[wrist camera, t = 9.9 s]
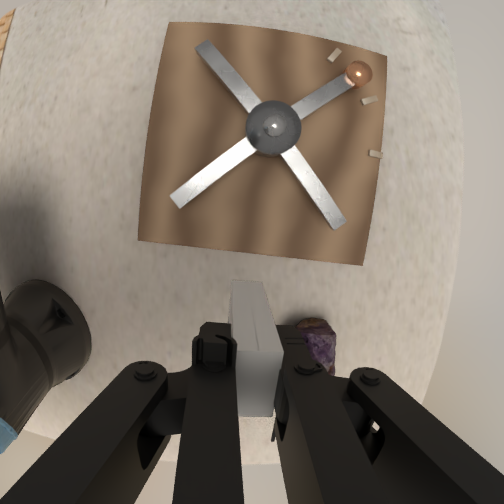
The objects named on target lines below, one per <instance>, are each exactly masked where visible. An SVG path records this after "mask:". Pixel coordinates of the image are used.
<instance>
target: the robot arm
mask: <svg viewBox="0 0 504 504" xmlns="http://www.w3.org/2000/svg"><path fill="white" fill-rule="evenodd" d="M90 352H91V338H90V333H89V329H88V326H87V323H86V321H85V319H84V317H83V315H82V313H81V312H80V310H79V308H78V307H77V306H76V304H75V303H74V302H73V301H72V300H71V298H70V297H69V296H68V295H67V294H65V293H64V292H63V291H62V290H61V289H59V288H58V287H56V286H54V285H52V284H50V283H48V282H45V281H41V280H31V281H27V282H25V283H23V284H21V285H19V286H18V287H16V288H15V289H14V290H12V291H11V292H10V294H9V295H8V297H7V298H6V300H5V303H4V304H3V300H2V296H1V292H0V454H1V453H3V452H4V451H5V450H6V449H7V447H8V446H9V445H10V444H11V443H12V441H13V440H15V439H16V438H17V437H18V435H19V433H20V432H21V430H22V429H23V427H24V426H25V424H26V423H27V421H28V420H29V418H30V417H31V416H32V414H33V413H34V411H35V410H36V408H37V407H38V405H39V404H40V403H41V401H42V400H43V398H44V397H45V396H46V394H47V393H48V392H49V390H50V389H51V388H52V387H54V386H56V385H58V384H60V383H62V382H63V381H64V380H68V379H70V378H72V377H74V376H75V375H77V374H78V373H79V372H80V370H81V369H82V368H83V366H84V365H85V364H86V362H87V361H88V359H89V356H90ZM274 407H275V412H276V418H275V423H274V428H273V433H272V438H271V442H274V440H275V437H276V440H277V446H278V451H279V456H280V462H281V467H282V472H283V478H284V483H285V488H286V493H287V499H288V503H289V504H504V475H503V474H502V473H500V472H499V471H498V470H497V469H496V468H494V467H493V466H492V465H491V464H490V463H489V462H487V461H486V460H485V459H484V458H483V457H481V456H480V455H479V454H478V453H477V452H476V451H474V450H473V449H472V448H471V447H469V445H467V444H466V443H465V442H464V441H463V440H462V439H460V438H459V437H458V436H457V435H456V434H455V433H453V432H452V431H451V430H450V429H449V428H448V427H446V426H445V425H444V424H443V423H442V422H441V421H439V420H438V419H437V418H436V417H435V416H434V415H432V414H431V413H430V412H428V410H427V409H425V408H424V407H423V406H422V405H421V404H419V403H418V402H417V401H416V400H415V399H414V398H413V397H411V396H410V395H409V394H408V393H407V392H406V391H404V390H403V389H402V388H401V387H400V386H399V385H397V384H396V383H395V382H394V381H393V380H392V379H390V378H389V377H388V376H387V375H386V374H384V373H383V372H381V371H379V370H377V369H374V368H369V367H363V368H357V369H355V370H353V371H352V372H351V374H350V378H343V377H336V376H332V375H329V374H328V372H327V370H326V368H325V367H324V366H323V364H321V363H319V362H318V361H316V360H313V359H312V357H311V355H310V353H309V350H308V348H307V346H306V345H305V341H304V339H303V337H302V335H301V332H300V331H299V330H297V329H296V328H295V327H294V326H287V325H275V322H274V319H273V316H272V312H271V309H270V306H269V303H268V300H267V296H266V293H265V290H264V287H263V283H262V282H254V281H239V280H231V292H230V304H229V317H228V323H215V322H206V323H205V324H203V325H202V326H201V327H200V332H199V335H198V336H196V337H194V339H193V341H192V366H191V367H190V368H188V369H186V370H184V371H180V372H175V373H167V371H166V369H165V368H164V367H163V366H162V365H160V364H158V363H155V362H151V361H138V362H134V363H131V364H129V365H128V366H127V367H125V368H124V369H123V370H122V371H121V372H120V373H119V374H118V376H117V377H116V378H115V379H114V380H113V381H112V382H111V383H110V384H109V385H108V386H107V387H106V388H105V389H104V390H103V391H102V392H101V393H100V394H99V395H98V396H97V397H96V398H95V399H94V401H93V402H92V403H91V404H90V405H89V406H88V407H87V408H86V409H85V410H84V411H83V412H82V413H81V414H80V415H79V416H78V417H77V418H76V419H75V420H74V421H73V423H72V424H71V425H70V426H69V427H68V428H67V429H66V430H65V431H64V432H63V433H62V434H61V435H60V436H59V437H58V438H57V439H56V440H55V441H54V443H53V444H52V445H51V446H50V447H49V448H48V449H47V450H46V451H45V452H44V453H43V454H42V455H41V456H40V457H39V458H38V460H37V461H36V462H35V463H34V464H33V465H32V466H31V467H30V468H29V469H28V470H27V471H26V472H25V473H24V475H23V476H22V477H21V478H20V479H19V480H18V481H17V482H16V483H15V484H14V485H13V486H12V487H11V489H10V490H9V491H8V492H7V493H6V494H5V495H4V496H3V497H2V498H1V499H0V504H134V503H135V501H136V499H137V498H138V496H139V494H140V492H141V491H142V489H143V487H144V485H145V483H146V482H147V480H148V478H149V476H150V475H151V473H152V471H153V469H154V468H155V466H156V464H157V462H158V460H159V459H160V457H161V455H162V453H163V452H164V450H165V448H166V446H167V444H168V443H169V441H170V438H171V435H174V434H181V438H180V446H179V453H178V460H177V468H176V476H175V484H174V493H173V501H172V504H244V494H243V481H242V466H241V452H240V437H239V421H238V416H243V417H272V416H273V410H274ZM374 421H375V422H376V423H377V424H378V425H379V427H380V428H379V430H378V431H376V430H375V429H374V428H373V427H372V425H373V423H374Z"/></svg>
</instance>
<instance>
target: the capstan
mask: <svg viewBox="0 0 504 504" xmlns="http://www.w3.org/2000/svg"><path fill="white" fill-rule="evenodd" d="M195 51H196V54H197V55H198V56H199V57H200V58H201V59H202V60H203V62H204V63H205V64H206V65H207V66H208V67H209V69H210V70H211V71H212V72H213V73H214V74H215V76H216V77H217V78H218V79H219V80H220V82H221V83H222V84H223V85H224V86H225V88H226V89H227V90H228V91H229V92H230V94H231V95H232V96H233V97H234V99H235V100H236V101H237V102H238V103H239V105H240V106H241V107H242V108H243V110H244V111H245V112H246V113H247V115H248V117H247V120H246V126H245V138H244V139H243V140H241V141H240V142H239V143H237V144H236V145H234V146H233V147H232V148H230V149H229V150H228V151H226V152H225V153H224V154H222V155H221V156H220V157H218V158H217V159H216V160H214V161H213V162H212V163H210V164H209V165H208V166H206V167H205V168H204V169H202V170H201V171H200V172H199V173H197V174H196V175H195V176H193V177H192V178H191V179H190V180H188V181H187V182H186V183H185V184H183V185H182V186H181V187H180V188H178V189H177V190H176V191H175V192H173V193H172V194H171V195H170V197H171V198H172V200H173V201H174V202H175V204H176V205H177V206H178V208H179V209H180V208H182V207H183V206H185V205H186V204H187V203H188V202H190V201H191V200H192V199H194V198H195V197H196V196H197V195H199V194H200V193H201V192H202V191H204V190H205V189H206V188H208V187H209V186H210V185H212V184H213V183H214V182H215V181H217V180H218V179H219V178H221V177H222V176H223V175H225V174H226V173H227V172H229V171H230V170H231V169H233V168H234V167H235V166H237V165H238V164H239V163H241V162H242V161H244V160H245V159H246V158H248V157H249V156H250V155H252V154H253V153H255V154H257V155H259V156H262V157H275V156H278V155H279V156H280V158H281V159H282V161H283V162H284V163H285V165H286V166H287V167H288V169H289V170H290V171H291V173H292V174H293V176H294V177H295V178H296V180H297V181H298V183H299V184H300V185H301V187H302V188H303V190H304V191H305V192H306V194H307V195H308V197H309V198H310V200H311V201H312V203H313V204H314V205H315V207H316V208H317V210H318V211H319V213H320V214H321V216H322V217H323V219H324V220H325V222H326V223H327V225H328V226H329V228H331V229H332V230H334V231H335V230H336V229H337V228H339V227H340V226H341V225H343V224H344V223H345V222H347V221H346V219H345V218H344V216H343V214H342V213H341V211H340V210H339V208H338V207H337V205H336V204H335V202H334V201H333V199H332V198H331V196H330V195H329V193H328V192H327V190H326V189H325V187H324V186H323V184H322V183H321V182H320V180H319V179H318V177H317V176H316V174H315V173H314V171H313V170H312V169H311V167H310V166H309V164H308V163H307V162H306V160H305V159H304V157H303V156H302V155H301V153H300V152H299V151H298V149H297V148H296V146H295V144H296V143H297V142H298V140H299V138H300V135H301V129H302V127H301V120H302V119H304V118H305V117H307V116H308V115H310V114H311V113H313V112H314V111H316V110H317V109H319V108H320V107H322V106H323V105H325V104H327V103H328V102H330V101H331V100H333V99H334V98H336V97H338V96H339V95H341V94H342V93H344V92H346V91H347V90H349V89H350V88H351V89H359V88H361V87H362V86H364V85H365V84H367V83H368V82H370V81H371V79H372V77H373V72H372V69H371V68H370V66H369V65H368V64H367V63H365V62H363V61H359V60H357V61H353V62H352V63H351V64H350V65H349V66H348V67H347V68H345V69H344V70H343V72H342V75H340V76H339V77H337V78H335V79H334V80H332V81H330V82H329V83H327V84H325V85H324V86H322V87H321V88H319V89H317V90H316V91H314V92H313V93H311V94H309V95H308V96H306V97H305V98H303V99H302V100H300V101H298V102H297V103H295V104H294V105H292V106H289V105H288V104H286V103H284V102H281V101H275V100H270V101H265V102H261V101H260V100H259V98H258V97H257V96H256V95H255V93H254V92H253V91H252V90H251V88H250V87H249V86H248V85H247V84H246V82H245V81H244V80H243V79H242V78H241V76H240V75H239V74H238V73H237V72H236V71H235V69H234V68H233V67H232V66H231V65H230V64H229V62H228V61H227V60H226V59H225V58H224V57H223V56H222V54H221V53H220V52H219V51H218V50H217V49H216V48H215V47H214V45H213V44H212V43H211V42H210V41H209V40H208V39H207V40H205V41H204V42H202V43H201V44H199V45H198V46H196V47H195Z"/></svg>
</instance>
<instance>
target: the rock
mask: <svg viewBox="0 0 504 504" xmlns="http://www.w3.org/2000/svg"><path fill="white" fill-rule="evenodd" d="M295 328H296V329H297V330H299V331H300V332H301V335H302V337H303V339H304V341H305V345H306V346H307V348H308V350H309V353H310V355H311V357H312V359H313V360H316V361H318V362H319V363H321V364H323V366H324V367H325V368H326V370H327V372H328V374H329V375H332V376H334V375H335V365H334V361H335V346H336V333H335V332H334V331H333V330H332V328H331V326H329V324H328V323H327V321H326V320H324V319H316V318H310V319H305V320H302V321H301V322H300V323H299V324H298V325H297V326H296V327H295Z"/></svg>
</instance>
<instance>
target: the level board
mask: <svg viewBox="0 0 504 504" xmlns="http://www.w3.org/2000/svg"><path fill="white" fill-rule="evenodd" d="M207 39H208V40H209V41H210V42H211V43H212V44H213V45H214V47H215V48H216V49H217V50H218V51H219V52H220V53H221V54H222V56H223V57H224V58H225V59H226V60H227V61H228V62H229V64H230V65H231V66H232V67H233V68H234V69H235V71H236V72H237V73H238V74H239V75H240V76H241V78H242V79H243V80H244V81H245V82H246V84H247V85H248V86H249V87H250V88H251V90H252V91H253V92H254V93H255V95H256V96H257V97H258V98H259V100H260V101H261V102H265V101H270V100H275V101H281V102H284V103H286V104H288V105H289V106H292V105H294V104H295V103H297V102H298V101H300V100H302V99H303V98H305V97H306V96H308V95H309V94H311V93H313V92H314V91H316V90H317V89H319V88H321V87H322V86H324V85H325V84H327V83H329V82H330V81H332V80H334V79H335V78H337V77H339V76H340V75H342V72H343V70H344V69H345V68H347V67H348V66H349V65H350V64H351V63H352V62H353V61H357V60H359V61H363V62H365V63H367V64H368V65H369V66H370V68H371V69H372V72H373V77H372V79H371V81H370V82H368V83H367V84H365V85H364V86H362V87H361V88H359V89H351V88H350V89H349V90H347V91H346V92H344V93H342V94H341V95H339V96H338V97H336V98H334V99H333V100H331V101H330V102H328V103H327V104H325V105H323V106H322V107H320V108H319V109H317V110H316V111H314V112H313V113H311V114H310V115H308V116H307V117H305V118H304V119H302V120H301V127H302V129H301V135H300V138H299V140H298V142H297V143H296V144H295V146H296V148H297V149H298V151H299V152H300V153H301V155H302V156H303V157H304V159H305V160H306V162H307V163H308V164H309V166H310V167H311V169H312V170H313V171H314V173H315V174H316V176H317V177H318V179H319V180H320V182H321V183H322V184H323V186H324V187H325V189H326V190H327V192H328V193H329V195H330V196H331V198H332V199H333V201H334V202H335V204H336V205H337V207H338V208H339V210H340V211H341V213H342V214H343V216H344V218H345V219H346V221H347V222H345V223H344V224H343V225H341V226H340V227H339V228H337V229H336V230H335V231H334V230H332V229H331V228H329V226H328V225H327V223H326V222H325V220H324V219H323V217H322V216H321V214H320V213H319V211H318V210H317V208H316V207H315V205H314V204H313V203H312V201H311V200H310V198H309V197H308V195H307V194H306V192H305V191H304V190H303V188H302V187H301V185H300V184H299V183H298V181H297V180H296V178H295V177H294V176H293V174H292V173H291V171H290V170H289V169H288V167H287V166H286V165H285V163H284V162H283V161H282V159H281V158H280V156H279V155H278V156H275V157H262V156H259V155H257V154H255V153H253V154H252V155H250V156H249V157H248V158H246V159H245V160H244V161H242V162H241V163H239V164H238V165H237V166H235V167H234V168H233V169H231V170H230V171H229V172H227V173H226V174H225V175H223V176H222V177H221V178H219V179H218V180H217V181H215V182H214V183H213V184H212V185H210V186H209V187H208V188H206V189H205V190H204V191H202V192H201V193H200V194H199V195H197V196H196V197H195V198H194V199H192V200H191V201H190V202H188V203H187V204H186V205H185V206H183V207H182V208H180V209H179V208H178V206H177V205H176V204H175V202H174V201H173V200H172V198H171V197H170V195H171V194H172V193H173V192H175V191H176V190H177V189H178V188H180V187H181V186H182V185H183V184H185V183H186V182H187V181H188V180H190V179H191V178H192V177H193V176H195V175H196V174H197V173H199V172H200V171H201V170H202V169H204V168H205V167H206V166H208V165H209V164H210V163H212V162H213V161H214V160H216V159H217V158H218V157H220V156H221V155H222V154H224V153H225V152H226V151H228V150H229V149H230V148H232V147H233V146H234V145H236V144H237V143H239V142H240V141H241V140H243V139H244V138H245V126H246V120H247V117H248V115H247V113H246V112H245V111H244V110H243V108H242V107H241V106H240V105H239V103H238V102H237V101H236V100H235V99H234V97H233V96H232V95H231V94H230V92H229V91H228V90H227V89H226V88H225V86H224V85H223V84H222V83H221V82H220V80H219V79H218V78H217V77H216V76H215V74H214V73H213V72H212V71H211V70H210V69H209V67H208V66H207V65H206V64H205V63H204V62H203V60H202V59H201V58H200V57H199V56H198V55H197V54H196V51H195V47H196V46H198V45H199V44H201V43H202V42H204V41H205V40H207ZM386 79H387V56H385V55H382V54H378V53H375V52H372V51H369V50H366V49H362V48H359V47H355V46H352V45H348V44H344V43H340V42H336V41H332V40H328V39H324V38H319V37H314V36H310V35H305V34H300V33H294V32H288V31H282V30H276V29H269V28H262V27H254V26H244V25H234V24H221V23H201V22H169V24H168V28H167V32H166V36H165V41H164V45H163V50H162V54H161V59H160V64H159V69H158V74H157V79H156V84H155V90H154V95H153V101H152V107H151V113H150V120H149V127H148V134H147V141H146V149H145V157H144V166H143V176H142V186H141V198H140V211H139V226H138V240H139V241H148V242H156V243H165V244H174V245H183V246H192V247H200V248H209V249H218V250H227V251H236V252H244V253H253V254H262V255H271V256H280V257H289V258H298V259H306V260H315V261H324V262H333V263H342V264H351V265H360V266H363V261H364V256H365V251H366V246H367V241H368V236H369V230H370V224H371V218H372V212H373V206H374V200H375V193H376V186H377V179H378V171H379V163H380V159H382V156H383V153H382V152H381V146H382V136H383V125H384V112H385V98H386Z"/></svg>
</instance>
